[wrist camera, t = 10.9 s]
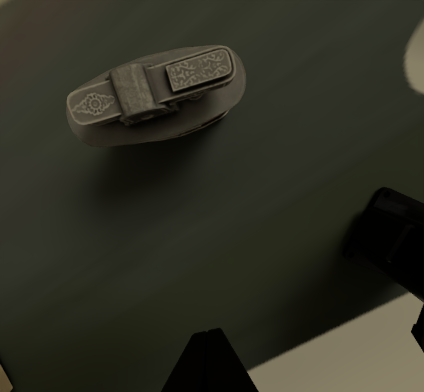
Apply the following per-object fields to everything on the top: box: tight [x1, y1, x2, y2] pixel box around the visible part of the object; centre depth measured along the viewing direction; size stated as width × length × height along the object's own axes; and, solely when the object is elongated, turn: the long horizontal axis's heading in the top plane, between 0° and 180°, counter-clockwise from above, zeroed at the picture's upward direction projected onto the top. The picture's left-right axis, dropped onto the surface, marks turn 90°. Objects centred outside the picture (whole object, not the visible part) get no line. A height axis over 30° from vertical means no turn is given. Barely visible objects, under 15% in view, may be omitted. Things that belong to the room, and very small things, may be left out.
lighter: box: [67, 45, 246, 147], centre depth 13 cm, size 8×3×10 cm, turn 106°
